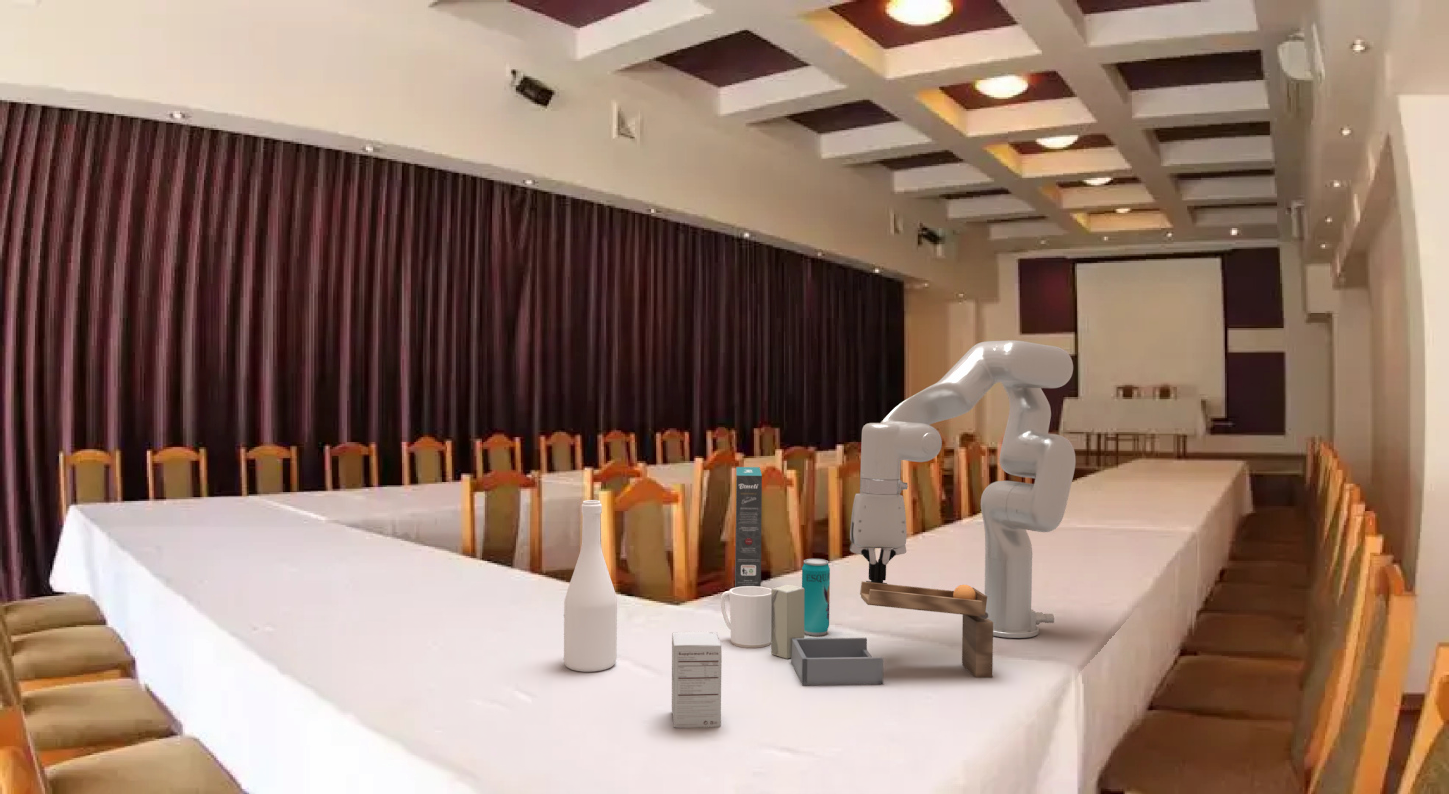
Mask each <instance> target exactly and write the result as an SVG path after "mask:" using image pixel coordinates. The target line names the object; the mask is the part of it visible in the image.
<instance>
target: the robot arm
mask: <svg viewBox="0 0 1449 794" xmlns="http://www.w3.org/2000/svg"><path fill="white" fill-rule="evenodd" d="M1073 371H1074V364H1073V360H1072V357H1071V355H1070V354H1069V353H1068V351H1067V350H1065V349H1063V348H1061V347H1059V346H1055V345H1047V344H1042V343H1035V342H1030V341H1023V340H1014V339H1013V340H1012V339H1011V340H1010V339H1009V340H1008V339H1007V340H989V341H988V340H987V341H982V342H978V343H976V344H975V345H973V346H972V347H970V349H968V350H967V352H966V353H965V354H964V355H962V357H961V358H960V359H959V360H958V361H957V362H956V363H954V364H953V366H952V367H951V368H950V369H949V370H948V371H947V372H946V373H945V374H944V375H943V376H942V378H940V379H939V380H938V381H937V382H935V383H934V384H931V385H930V386H927V387H926V388H924V389H922V390H921V391H919V392H917V393H915V394H914V395H912V396H909V397H908V398H906V399H905V400H903V401H901V402H900V403H899V404H898V405H896V406H895V407H893V409H892V410H891V411H890V412H889V413H888V414H887V415H886V416H885V417H884V418H883V420H881V421H880V422H869V423H866V424H865V425H863V427H862V429H861V447H860V449H861V450H860V474H859V475H860V478H859V479H860V481H859V493H855V495H854V499H853V503H852V510H851V519H850V530H849V539H850V546H849V551H850V552H851V553H854V554H856V555H859V556H860V555H861V556H863V557H864V559H866V561H867V562H868V581H871V582H873V583H882V584H883V583H884V581H886V580H887V565H888V564H889V562H890V561H891V560H892V559H893V558H894V557H895V556H900V555H904V554H906V553H907V548H906V543H907V517H906V508H905V507H906V506H905V500H904V496H903V495H901V493H902V491H903V490H908V486H909V485H908V482H904V481H903V480H902V479H901V468H902V467H901V463H902V461H905V462H906V461H908V462H916V463H924V462H929V461H931V460H933V459H935V458H936V457H937V456H938V455H939V454H940V452H941V449H942V446H943V445H942V444H943V442H942V441H943V440H942V439H943V438H942V437H941V434H940V432H939V430H937V428H935V427H934V426H932V425H933V424H935V423H938V422H939V423H940V422H942V421H946V420H952V419H953V418H958V417H959V416H963V415H965V414H967V413H969V412H970V411H971V410H972V409H973V408H974V407H975V405H977V404H978V403H979V401H980V400H981V399H982V398H983V397H984V396H985V395H986V394H987V393H988V391H990V390H991V389H992V387H993V386H994V385H996V384H998V383H1001V386H1002V387H1003V389H1004V391H1005V393H1006V396H1007V398H1008V402H1009V413H1008V418H1007V422H1006V427H1005V431H1004V434H1003V440H1002V442H1001V447H1000V453H999V458H998V459H999V465H1000V468H1001V469H1002V470H1003V472H1004V473H1007V474H1009V475H1012V476H1016V477H1021V478H1028V479H1034V482H1033V483H1028V482H1027V483H1026V482H1021V481H1014V480H1013V481H1012V480H998V481H994V482H991V483H989V484H988V486H986V487H985V489H984V490H983V492H982V493H981V498H980V509H981V510H980V511H981V516H982V522H983V529H984V545H985V546H984V550H985V551H984V554H985V555H984V595H986V596H987V604H986V613H988V619H989V620H991V621H992V622H993V637H1001V638H1005V639H1006V638H1008V639H1009V638H1010V639H1027V638H1032V637H1036V636H1038V635H1039V633H1040V631H1039V630H1040V628H1039V626H1038V625H1040V624H1041V623H1043V624H1055V616H1054V614H1053V613H1043V612H1042V611H1041V612H1036V611H1035V610H1034V609H1032V590H1033V587H1032V586H1033V585H1032V584H1033V583H1032V582H1033V580H1032V579H1033V546H1032V541H1031V538H1030V536H1029V534H1028V532H1027V531H1032V532H1037V533H1051V532H1052V531H1054V530H1056V529H1057V528H1058V527H1059V526H1060V525H1061V523H1062V520H1063V519H1064V515H1065V513H1066V508H1067V504H1068V499H1069V496H1070V491H1071V488H1072V483H1073V478H1074V474H1075V469H1076V452H1075V449H1074V446H1073V444H1072V443H1071V441H1070V440H1069V439H1068V438H1067V437H1065V436H1064V435H1063V436H1062V435H1060V434H1057V433H1049V430H1050V422H1051V417H1052V410H1051V405H1050V402H1049V401H1048V399H1047V396H1046V395H1045V393H1044V391H1043V390H1042V389H1058V388H1060V387H1063V386H1065V385H1066V384H1067V383H1068V382H1069V381H1070V380H1071V378H1072V376H1073ZM876 549H880V550H879V551H880V552H879V558H878V560H877V555H876Z"/></svg>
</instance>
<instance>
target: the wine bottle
mask: <svg viewBox="0 0 1449 794" xmlns="http://www.w3.org/2000/svg"><path fill="white" fill-rule="evenodd" d="M602 505H603V504H602V503H601V500H597V499H588V500H587V499H586V500H583V501H582V504H581V512H580V513H581V515H582V522H581V523H582V526H581V527H582V530H581V547H580V550H579V551H580V552H579V555H578V558H577V561H576V564H575V567H574V570H573V573H572V576H571V579H570V581H569V585H568V588H567V590H566V594H565V598H564V603H563V606H564V607H563V608H564V609H563V613H564V614H563V619H564V620H563V662H564V665H565V667H566V668H568V669H569V670H572V671H576V672H585V673H592V672H600V671H605V670H608V669H610V668H612V667H613V666H614V665H615V664H616V663H617V662H616V661H617V658H618V657H617V653H618V652H617V650H618V648H617V647H618V646H617V645H618V643H617V641H618V640H617V639H618V633H617V632H618V600H617V599H618V598H617V595H616V591H615V590H616V589H615V588H614V584H613V581H612V579H611V576H610V572H609V569H608V566H607V563H606V560H605V557H604V554H603V550H602V544H601V543H602V542H601V539H602V538H601V514H602V512H603V511H602V508H603V506H602Z"/></svg>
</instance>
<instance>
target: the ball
mask: <svg viewBox="0 0 1449 794" xmlns="http://www.w3.org/2000/svg"><path fill="white" fill-rule="evenodd" d="M973 588H974V587H973V586H970V585H968V584H960V585H958V586H957V587H956V588H954V590H953V591H954V593H953V598H960V599H969V600H976V593H975V591H974V589H973Z"/></svg>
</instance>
